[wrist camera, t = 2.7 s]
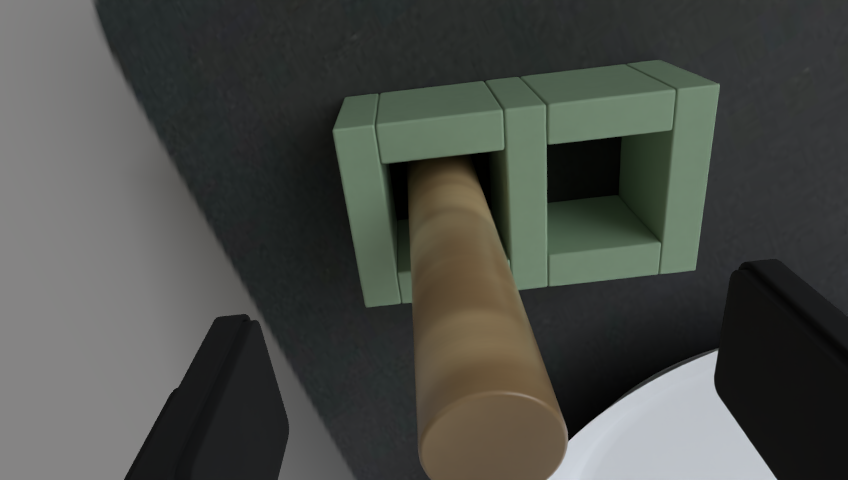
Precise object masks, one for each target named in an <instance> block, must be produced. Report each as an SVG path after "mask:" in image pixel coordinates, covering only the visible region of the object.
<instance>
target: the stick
mask: <svg viewBox="0 0 848 480" xmlns="http://www.w3.org/2000/svg"><path fill="white" fill-rule="evenodd" d="M407 186H408V211H409V236H410V260H411V285H412V310H413V335H414V360H415V385H416V410H417V435H418V455H419V459H420V463H421V465H422V467H423V469H424V471H425V472H426V474H427V475H428V477H429V478H430V479H431V480H547V479H549V478H550V477H551V476H552V475H553V474H554V473H555V472H556V470H557V469H558V468H559V466H560V465H561V463H562V461H563V459H564V457H565V454H566V451H567V446H568V431H567V428H566V424H565V421H564V419H563V416H562V413H561V410H560V407H559V404H558V402H557V399H556V396H555V393H554V390H553V388H552V385H551V382H550V379H549V376H548V373H547V371H546V368H545V365H544V362H543V359H542V357H541V354H540V351H539V348H538V345H537V343H536V340H535V337H534V334H533V331H532V328H531V326H530V323H529V320H528V317H527V314H526V312H525V309H524V306H523V303H522V300H521V298H520V295H519V292H518V289H517V286H516V283H515V281H514V278H513V275H512V272H511V269H510V267H509V264H508V261H507V258H506V255H505V252H504V250H503V247H502V244H501V241H500V238H499V236H498V233H497V230H496V227H495V224H494V222H493V219H492V216H491V213H490V210H489V207H488V205H487V202H486V199H485V196H484V193H483V191H482V188H481V185H480V182H479V179H478V177H477V174H476V171H475V168H474V165H473V162H472V160H471V157H470V155H469V154H465V155H456V156H448V157H439V158H431V159H422V160H414V161H408V164H407Z"/></svg>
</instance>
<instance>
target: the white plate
mask: <svg viewBox="0 0 848 480" xmlns="http://www.w3.org/2000/svg"><path fill="white" fill-rule="evenodd" d="M718 349H719V348H717V349H714V350H710V351H707V352H704V353H701V354H699V355H696V356H693V357H691V358H688V359H686V360H683V361H681V362H679V363H676V364H674V365H672V366H670V367H668V368H666V369H664V370H662V371H660V372H658V373H656V374H655V375H653V376H651V377H649V378H648V379H646V380H644V381H643V382H641V383H640V384H638V385H637V386H635V387H634V388H632V389H631V390H629V391H628V392H626V393H625V394H624V395H622V396H621V397H620V398H619V399H618V400H617V401H615V402H614V403H613V404H612V405H611V406H610V407H609V408H608V409H606V410H605V411H604V412H602V413H601V414H600V415H598V416H597V417H596V418H595V419H593V420H592V421H591V422H590V423H588V424H587V425H586V426H585V427H584V428H583V429H581V430H580V431H579V432H578V433H577V434H576V435H575V436H574V437H573V438H571V439H570V440H569V441H568V446H567V451H566V454H565V457H564V459H563V461H562V463H561V465H560V466H559V468H558V469H557V470H556V472H555V473H554V474H553V475H552V476H551V477H550V478H549V479H547V480H777V479H776V477H775V476H774V475H773V473H772V472H771V470H770V469H769V467H768V466H767V465H766V463H765V462H764V460H763V459H762V457H761V456H760V455H759V453H758V452H757V450H756V449H755V447H754V446H753V445H752V443H751V442H750V440H749V439H748V437H747V436H746V435H745V433H744V432H743V430H742V429H741V427H740V426H739V425H738V423H737V422H736V420H735V419H734V417H733V416H732V415H731V413H730V412H729V410H728V409H727V407H726V406H725V405H724V403H723V402H722V400H721V399H720V397H719V396H718V394H717V392H716V389H715V385H714V373H715V367H716V361H717V355H718Z"/></svg>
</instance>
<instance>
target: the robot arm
mask: <svg viewBox="0 0 848 480" xmlns="http://www.w3.org/2000/svg"><path fill="white" fill-rule="evenodd" d="M714 385H715V389H716V392H717V394H718V396H719V397H720V399H721V400H722V402H723V403H724V405H725V406H726V407H727V409H728V410H729V412H730V413H731V415H732V416H733V417H734V419H735V420H736V422H737V423H738V425H739V426H740V427H741V429H742V430H743V432H744V433H745V435H746V436H747V437H748V439H749V440H750V442H751V443H752V445H753V446H754V447H755V449H756V450H757V452H758V453H759V455H760V456H761V457H762V459H763V460H764V462H765V463H766V465H767V466H768V467H769V469H770V470H771V472H772V473H773V475H774V476H775V477H776V479H777V480H848V317H847V316H846V315H844V314H843V313H842V312H841V311H840V310H838V309H837V308H836V307H835V306H834V305H832V304H831V303H830V302H829V301H827V300H826V299H825V298H824V297H823V296H821V295H820V294H819V293H818V292H817V291H815V290H814V289H813V288H812V287H811V286H809V285H808V284H807V283H806V282H805V281H803V280H802V279H801V278H800V277H799V276H797V275H796V274H795V273H794V272H792V271H791V270H790V269H789V268H788V267H786V266H785V265H784V264H783V263H782V262H780V261H778V260H777V259H770V260H760V261H751V262H744V263H742V264H741V266H740V267H739V270H735V271H734V272H733V273H732V274H731V277H730V282H729V288H728V294H727V300H726V306H725V312H724V318H723V324H722V331H721V337H720V343H719V349H718V355H717V361H716V367H715V373H714ZM288 435H289V424H288V418H287V415H286V411H285V408H284V404H283V401H282V398H281V394H280V391H279V388H278V384H277V381H276V378H275V374H274V371H273V367H272V364H271V360H270V357H269V353H268V350H267V347H266V344H265V340H264V337H263V333H262V330H261V326H260V324H259V322H258V321H257V320H253V321H251V320H250V318H249V316H248V315H246V314H241V315H231V316H222V317H217V318H216V319H215V320H214V322H213V324H212V326H211V328H210V329H209V331H208V333H207V335H206V337H205V339H204V341H203V342H202V345H201V346H200V348H199V350H198V352H197V354H196V355H195V357H194V359H193V361H192V363H191V365H190V367H189V369H188V370H187V372H186V374H185V376H184V378H183V380H182V382H181V384H180V385H179V387H178V388H176V389H174V390H173V392H172V393H171V394H170V396H169V398H168V399H167V401H166V403H165V405H164V407H163V409H162V410H161V412H160V414H159V416H158V418H157V420H156V422H155V423H154V425H153V427H152V429H151V431H150V433H149V435H148V436H147V438H146V440H145V442H144V444H143V446H142V447H141V449H140V451H139V453H138V455H137V457H136V458H135V460H134V462H133V464H132V466H131V468H130V469H129V472H128V473H127V475H126V477H125V479H124V480H278V476H279V472H280V468H281V464H282V460H283V456H284V452H285V448H286V444H287V440H288Z"/></svg>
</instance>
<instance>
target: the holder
mask: <svg viewBox="0 0 848 480" xmlns="http://www.w3.org/2000/svg"><path fill="white" fill-rule="evenodd" d="M719 88H720V85H719V84H718V83H715V82H713V81H710V80H708V79H705V78H703V77H700V76H698V75H696V74H693V73H691V72H688V71H686V70H683V69H681V68H678V67H676V66H673V65H671V64H669V63H666V62H664V61H661V60H654V61H645V62H637V63H629V64H626V65H624V64H622V65H613V66H605V67H596V68H588V69H579V70H571V71H563V72H554V73H546V74H537V75H529V76H522V77H521V78H519V77H512V78H504V79H495V80H487V81H485V83H484V82H483V81H478V82H470V83H462V84H453V85H445V86H436V87H428V88H419V89H411V90H402V91H394V92H386V93H381V94H380V95H378V94H368V95H360V96H351V97H346V98H344V101H343V104H342V106H341V109H340V112H339V115H338V117H337V120H336V123H335V125H334V128H333V137H334V143H335V148H336V153H337V159H338V164H339V169H340V175H341V180H342V185H343V191H344V196H345V201H346V207H347V212H348V217H349V223H350V228H351V233H352V239H353V244H354V249H355V255H356V260H357V265H358V271H359V276H360V281H361V287H362V292H363V297H364V303H365V306H366V307H374V306H383V305H392V304H399V303H401V301H402V303H411V302H412V285H411V260H410V236H409V219H404V220H398V222H397V216H396V209H395V202H394V195H393V188H392V181H391V174H390V167H389V163H397V162H405V161H414V160H422V159H431V158H439V157H448V156H456V155H465V154H474V153H482V152H489V169H490V186H491V204H492V211H491V210H490V213H491V216H492V219H493V222H494V224H495V227H496V230H497V233H498V236H499V238H500V241H501V244H502V247H503V250H504V252H505V255H506V258H507V261H508V264H509V267H510V269H511V272H512V275H513V278H514V281H515V283H516V286H517V289H518V290H523V289H532V288H541V287H546V286H547V284H548V286H560V285H568V284H577V283H586V282H595V281H604V280H612V279H621V278H630V277H639V276H648V275H656V274H658V273H659V274H667V273H676V272H684V271H693V270H695V268H696V261H697V253H698V246H699V238H700V231H701V223H702V216H703V208H704V201H705V193H706V186H707V178H708V170H709V163H710V155H711V148H712V140H713V133H714V125H715V118H716V110H717V103H718V95H719ZM619 136H622V141H621V159H620V177H619V195H612V196H603V197H595V198H586V199H577V200H569V201H560V202H551V203H547V144H549V145H551V144H560V143H568V142H577V141H585V140H594V139H602V138H611V137H619Z"/></svg>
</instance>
